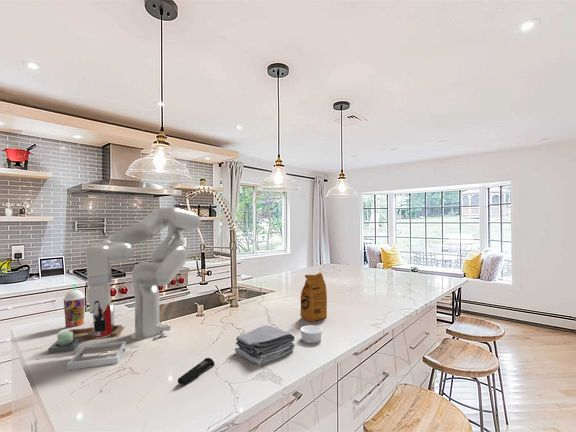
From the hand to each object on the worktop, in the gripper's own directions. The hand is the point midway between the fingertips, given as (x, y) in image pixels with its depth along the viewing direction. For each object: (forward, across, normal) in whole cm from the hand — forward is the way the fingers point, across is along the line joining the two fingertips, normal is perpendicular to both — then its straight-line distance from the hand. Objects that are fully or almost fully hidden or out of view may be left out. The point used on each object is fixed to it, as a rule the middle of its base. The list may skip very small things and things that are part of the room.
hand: (102, 327), depth 114 cm
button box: (+10, -9, -15) cm, 20 cm away
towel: (+12, +16, +57) cm, 60 cm away
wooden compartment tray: (+11, -21, -9) cm, 25 cm away
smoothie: (+11, -38, -21) cm, 45 cm away
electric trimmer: (+11, +26, +33) cm, 43 cm away
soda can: (+3, 0, 0) cm, 3 cm away
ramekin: (+13, +10, +78) cm, 80 cm away
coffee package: (+15, -14, +89) cm, 91 cm away
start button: (+8, -9, -15) cm, 19 cm away
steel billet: (+10, -21, -4) cm, 23 cm away
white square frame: (+10, +1, -1) cm, 10 cm away
